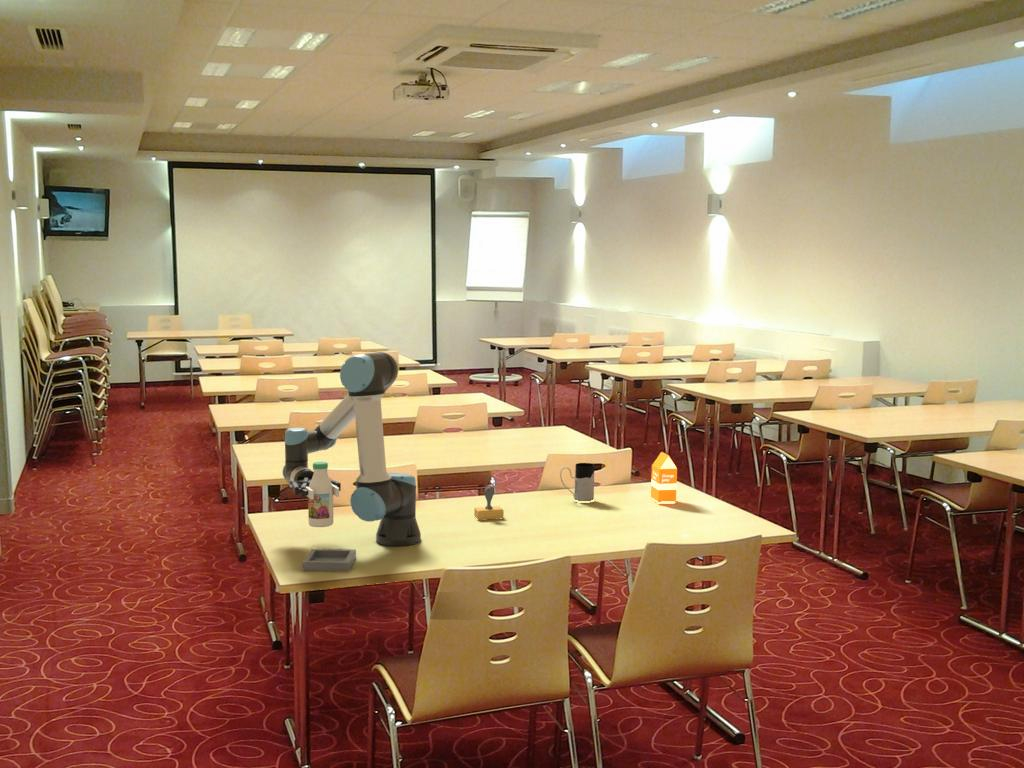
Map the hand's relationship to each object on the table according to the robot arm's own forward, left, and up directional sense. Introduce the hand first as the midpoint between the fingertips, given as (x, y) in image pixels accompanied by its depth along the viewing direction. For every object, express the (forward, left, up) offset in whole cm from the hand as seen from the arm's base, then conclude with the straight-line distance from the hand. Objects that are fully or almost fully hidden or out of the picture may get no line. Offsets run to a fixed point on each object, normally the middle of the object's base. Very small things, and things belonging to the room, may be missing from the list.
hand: (325, 493), depth 297 cm
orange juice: (-120, -88, -22) cm, 150 cm away
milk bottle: (+2, -4, -11) cm, 12 cm away
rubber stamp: (-50, -58, -22) cm, 80 cm away
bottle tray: (-2, +2, -22) cm, 22 cm away
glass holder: (-85, -87, -22) cm, 124 cm away
